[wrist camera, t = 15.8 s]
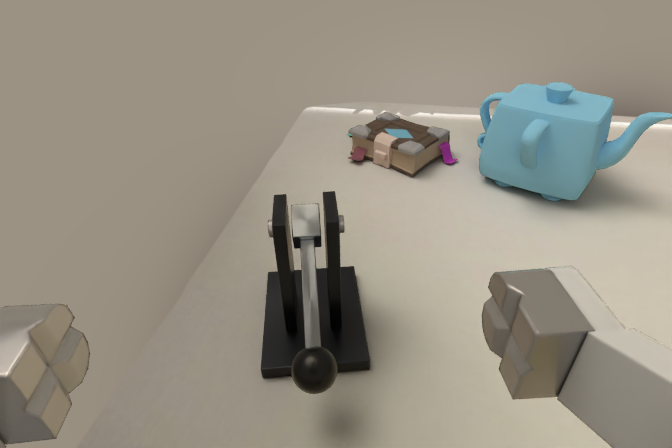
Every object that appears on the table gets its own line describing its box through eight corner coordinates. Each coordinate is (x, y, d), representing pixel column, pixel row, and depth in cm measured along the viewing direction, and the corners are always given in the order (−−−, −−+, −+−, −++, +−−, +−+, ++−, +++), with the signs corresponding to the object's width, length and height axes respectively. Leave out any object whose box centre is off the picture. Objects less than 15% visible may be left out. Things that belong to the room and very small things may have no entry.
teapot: (495, 213, 55) (519, 111, 47) (459, 155, 68) (474, 68, 60) (636, 208, 55) (683, 105, 47) (574, 151, 69) (602, 63, 61)
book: (316, 150, 71) (314, 121, 68) (362, 126, 78) (363, 99, 76) (419, 189, 60) (423, 156, 57) (462, 158, 67) (467, 128, 65)
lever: (338, 393, 31) (339, 390, 28) (293, 397, 31) (290, 394, 28) (325, 217, 37) (325, 200, 34) (287, 220, 37) (284, 202, 34)
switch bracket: (369, 369, 36) (373, 252, 29) (262, 378, 36) (238, 261, 29) (353, 274, 46) (354, 167, 39) (269, 280, 46) (253, 173, 38)
